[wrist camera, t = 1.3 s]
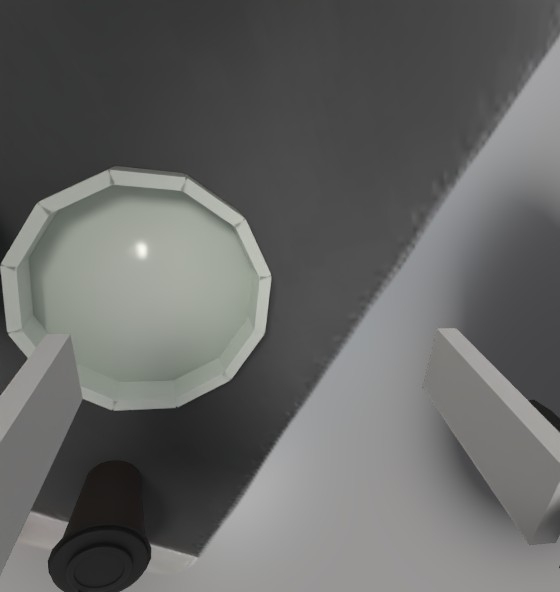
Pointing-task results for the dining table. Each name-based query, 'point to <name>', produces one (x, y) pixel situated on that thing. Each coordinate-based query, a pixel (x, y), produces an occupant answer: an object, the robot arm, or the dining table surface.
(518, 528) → the robot arm
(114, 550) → the coffee cup
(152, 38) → the dining table surface
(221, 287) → the bowl
